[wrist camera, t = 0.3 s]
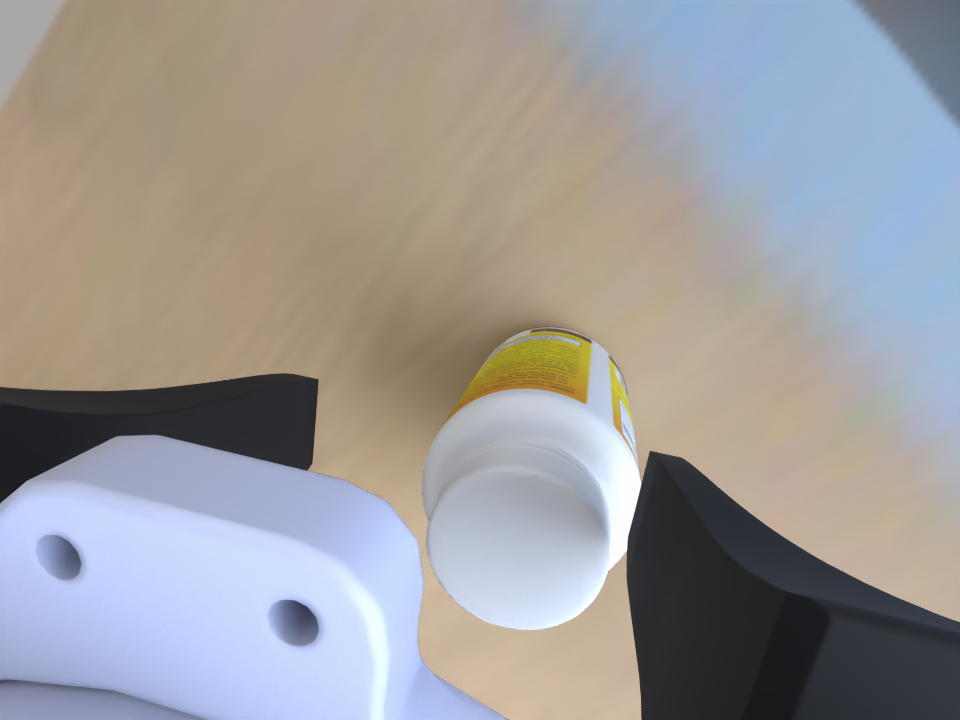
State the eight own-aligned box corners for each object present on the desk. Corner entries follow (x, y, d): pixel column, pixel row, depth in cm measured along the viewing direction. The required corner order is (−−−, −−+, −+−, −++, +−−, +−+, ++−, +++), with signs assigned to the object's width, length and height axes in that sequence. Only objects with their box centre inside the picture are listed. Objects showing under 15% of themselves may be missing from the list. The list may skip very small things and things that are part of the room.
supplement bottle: (449, 392, 23) (339, 537, 13) (552, 291, 21) (512, 374, 11) (551, 491, 23) (515, 704, 14) (660, 400, 21) (711, 571, 12)
